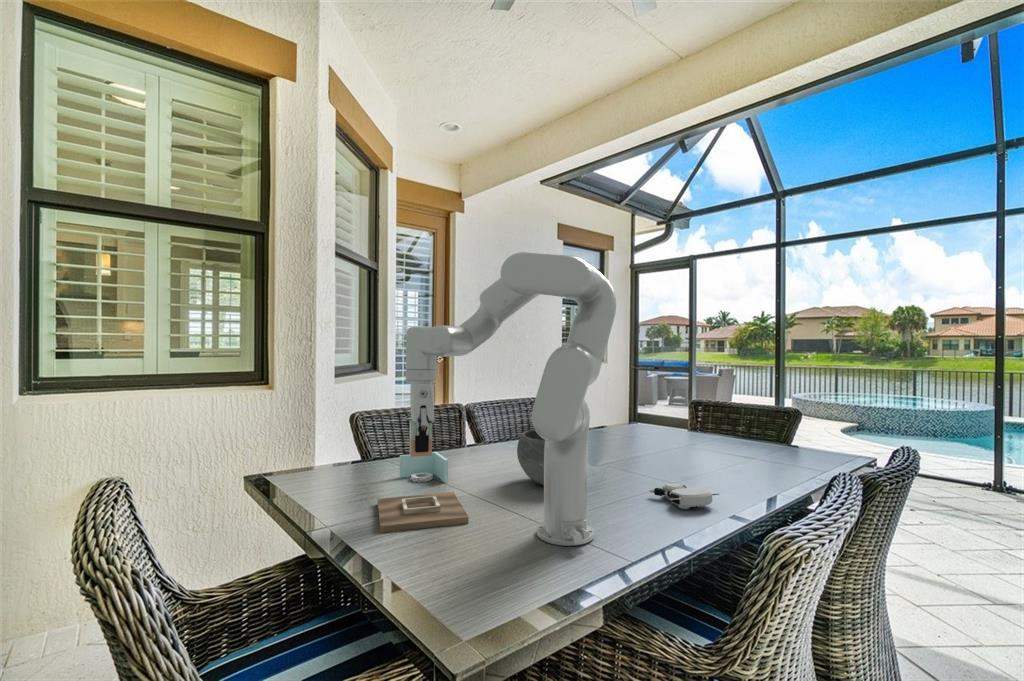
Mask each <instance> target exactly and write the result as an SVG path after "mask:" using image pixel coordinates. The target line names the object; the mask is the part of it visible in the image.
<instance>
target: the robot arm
mask: <svg viewBox="0 0 1024 681" xmlns="http://www.w3.org/2000/svg"><path fill="white" fill-rule="evenodd" d="M539 295H543V296H551V297H552V296H553V297H561V298H566V299H570V300H571V301H575V302H576V303H577V310H576V313H575V314H574V315H575V316H574V318H573V320H572V323H571V326H570V330H569V333H568V335H567V336H568V337H567V340H566V343H565V345H564V344H563V345H561V346H560V347H558V348H555V350H554V351H553V352H552V353H551V354H550V356H549V357H548V359H547V361H546V363H545V366H544V369H543V373H542V376H541V379H540V383H539V386H538V389H537V394H536V397H535V399H534V403H533V406H532V412H531V422H532V426H533V430H535V431H536V432H537V434H538V435H539V436H540V437H541V438H543V439H545V447H544V485H543V522H541V523H540V524H538V526H537V527H536V536H538V538H539V540H542V541H544V542H546V543H547V544H551V545H557V546H564V547H570V546H571V547H572V546H573V547H574V546H575V547H576V546H581V545H584V544H588V543H589V542H591V541H593V539H594V538H595V530H594V528H593V527H592V526H591V525H589V524H588V448H589V446H588V444H589V432H590V431H589V430H590V419H591V416H590V409H589V405H588V403H587V401H586V400H585V397H586V394H587V390H588V388H589V386H591V385H592V384H593V383H594V382H596V380H597V379H598V377H599V375H600V372H601V367H602V364H603V360H604V357H605V353H606V349H607V347H608V344H609V339H610V335H611V331H612V329H613V324H614V320H615V316H616V310H617V298H616V292H615V290H614V288H613V286H612V283H610V281H609V279H607V278H606V277H605V276H604V275H603V273H602V272H601V271H600V270H598V269H597V268H595V267H594V266H593V265H592V264H590V263H588V262H587V261H586V260H584V259H582V258H580V257H577V256H574V255H573V256H572V255H563V254H551V253H549V254H548V253H539V252H525V251H523V252H521V251H520V252H516V253H513V254H511V255H509V256H508V257H507V258H505V260H504V261H503V263H502V264H501V267H500V277H499V279H497V280H496V281H494V282H493V283H492V284H490V285H489V286H488V287H486V288H485V289H484V290H483V291H482V292H481V293H480V295H479V307H478V309H477V310H476V311H475V312H474V314H473V315H472V316H470V317H469V318H468V319H466V320H465V321H464V322H462V323H461V324H460V325H458V326H457V325H445V324H444V325H436V326H411V327H408V328H407V330H406V332H405V341H406V342H405V383H406V384H407V383H409V384H410V388H409V392H410V393H409V394H410V397H409V398H410V400H409V401H410V403H409V405H410V418H411V420H413V422H414V423H416V436H415V452H416V453H418V452H428V451H429V435H428V420H429V421H430V422H431V423H432V424H433V423H434V422H435V412H434V411H435V405H434V403H435V401H434V400H435V398H434V396H435V394H434V385H433V384H435V383H437V360H438V359H437V357H448V358H449V357H461V356H462V357H463V356H465V355H466V356H467V355H468V354H470V353H472V352H473V351H475V350H476V349H477V348H478V347H480V346H481V345H483V344H484V343H486V341H487V340H488V341H489V339H490V338H491V337H492V336H494V334H495V333H496V331H498V329H500V327H501V326H502V324H503V322H504V321H506V320H507V319H509V318H510V317H511V316H513V315H514V314H515V313H516V312H518V311H519V310H520V309H521V308H523V307H525V306H526V305H527V304H528V303H530V302H531V301H533V300H534V299H535V298H537V296H539ZM418 421H421V423H418ZM419 426H420V427H419Z"/></svg>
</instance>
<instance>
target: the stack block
mask: <svg viewBox="0 0 1024 681" xmlns="http://www.w3.org/2000/svg"><path fill="white" fill-rule="evenodd" d="M418 423H421V421H418ZM419 427H420V426H419ZM428 435H429V451H428V452H418V453H416V452H415V436H416V423H414V422H413V420H412V419H411V420H409V439H408V440H409V441H408V443H409V444H408V445H409V446H408V449H409V450H408V451H409V454H410V455H411V457H416V456H432V452H433V423H431V422H430V421H429V420H428Z"/></svg>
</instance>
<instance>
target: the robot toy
mask: <svg viewBox="0 0 1024 681" xmlns="http://www.w3.org/2000/svg"><path fill="white" fill-rule="evenodd" d="M649 493H652V494H654V495H655V496H660V497H662V496H664V497H665V498H668V499H670V500H669V502H670V503H671V504H674V505H676V506H677V507H678V508H679V509H681V508H683V509H682V510H688V509H690V508H692V507H693V508H694V507H695V508H703V507H705V506H707V505H710V504H712V503H713V496H720V492H719V493H712V492H711V491H710V490H707V489H704V488H700V487H699V488H698V487H687V486H686V485H685V484H684V485H683V484H679V483H667V484H665V485H664V484H663V485H662V488H660V487H655V488H652V489H649ZM668 499H667V500H668ZM696 506H697V507H696Z"/></svg>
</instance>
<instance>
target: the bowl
mask: <svg viewBox="0 0 1024 681" xmlns="http://www.w3.org/2000/svg"><path fill="white" fill-rule="evenodd" d="M544 447H545V439H543V438H541V437H540V436H539V435H538V434H537V432H536V431H535V429H533V430H532V429H530V430H525V431H522V433H521V434H520V437H519V439H518V441H517V447H516V452H517V454H516V455H517V460H518V463H519V465H520V467H521V469H522V471H523V472H524V473H525V475H527V477H528V478H529V479H531V480H532V481H533V482H535V483H537V484H538V485H542V486H544Z"/></svg>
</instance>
